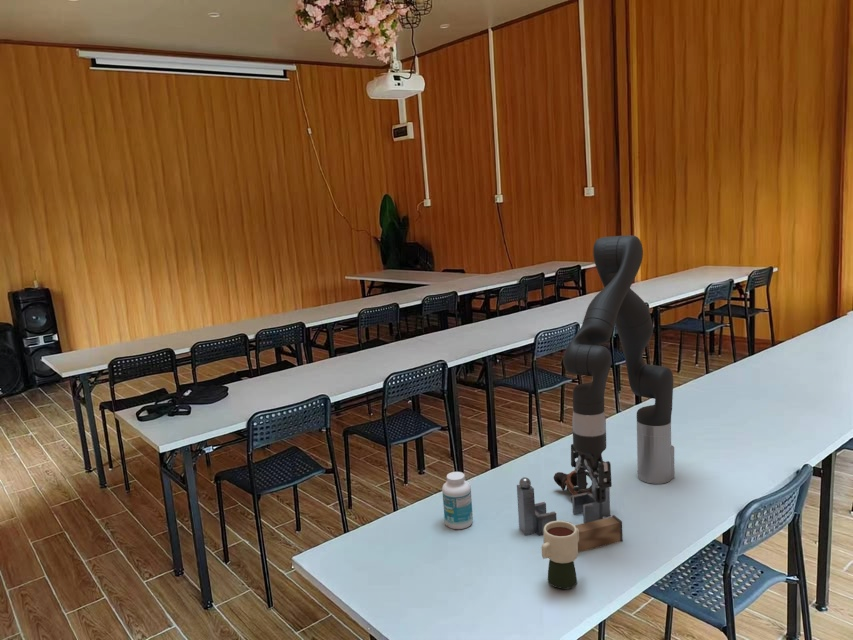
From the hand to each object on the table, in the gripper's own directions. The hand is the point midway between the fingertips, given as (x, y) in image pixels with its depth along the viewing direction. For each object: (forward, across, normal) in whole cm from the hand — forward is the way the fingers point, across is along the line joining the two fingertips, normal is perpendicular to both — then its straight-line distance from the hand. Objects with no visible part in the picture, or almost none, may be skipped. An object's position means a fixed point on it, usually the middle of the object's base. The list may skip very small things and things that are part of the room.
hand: (591, 494), depth 155 cm
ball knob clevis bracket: (+13, +12, +1) cm, 18 cm away
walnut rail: (+13, 0, 0) cm, 13 cm away
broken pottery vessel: (+13, +24, -9) cm, 29 cm away
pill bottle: (+13, +23, +26) cm, 37 cm away
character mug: (+13, -11, +14) cm, 22 cm away
